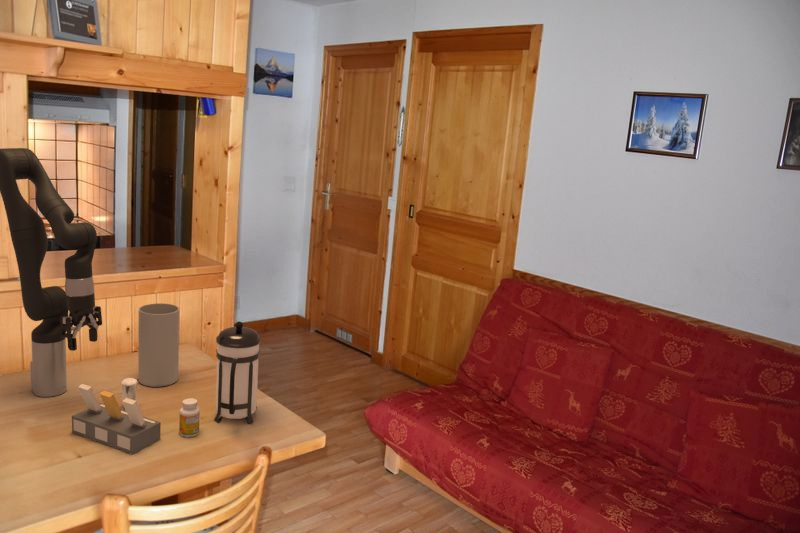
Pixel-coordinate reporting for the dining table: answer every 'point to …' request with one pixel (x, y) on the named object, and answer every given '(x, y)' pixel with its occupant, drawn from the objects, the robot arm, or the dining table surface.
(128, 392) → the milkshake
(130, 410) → the rocker right
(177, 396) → the dining table surface
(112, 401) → the rocker amber
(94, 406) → the rocker left
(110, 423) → the strip block
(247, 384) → the coffee press
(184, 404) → the supplement bottle
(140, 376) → the cylinder vase
